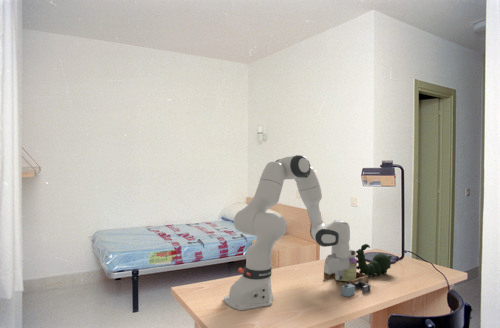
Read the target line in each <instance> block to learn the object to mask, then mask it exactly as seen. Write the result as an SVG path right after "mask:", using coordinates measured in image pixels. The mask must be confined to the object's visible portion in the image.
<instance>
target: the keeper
mask: <svg viewBox="0 0 500 328" xmlns="http://www.w3.org/2000/svg"><path fill="white" fill-rule="evenodd" d="M354 286H355V291H356V290H359V289H361V292H362V294H367V293H368V292H371V284H369V283H368V284H366V283H364V282H361V281H359V282H356V283H354Z"/></svg>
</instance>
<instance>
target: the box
mask: <svg viewBox="0 0 500 328" xmlns="http://www.w3.org/2000/svg"><path fill="white" fill-rule="evenodd" d="M357 260H358V258H356V256H355V259H350V260H349V262H350V266H349V269H348V270H345V272H344V275H343V279H341V280H339V281H340V282H348V283H349V281H350V280H353V279H356V272H357V269H356V267H357V266H358V265H357V264H358V263H357ZM334 278H335V279H334V280H335V281H338V280H337V279H336V275H335V277H334Z"/></svg>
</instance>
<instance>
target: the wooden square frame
mask: <svg viewBox="0 0 500 328" xmlns="http://www.w3.org/2000/svg"><path fill="white" fill-rule="evenodd" d="M332 278H335V273H333V274H327V273H325V272H324V271H323V280H328V279H332ZM359 281H361V282H364V283H366V284H369V275H368V276H367V275H365V274H364V273H363V274H362V273H359V272H358V271H356V279H353V280H350V281H349V282H348V284H352V285H354V283H356V282H359Z"/></svg>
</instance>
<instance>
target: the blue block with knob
mask: <svg viewBox="0 0 500 328" xmlns="http://www.w3.org/2000/svg"><path fill="white" fill-rule="evenodd" d="M340 295H341V296H342V297H345V298H348V297H350V296H351V297H352V296H353V295H354V296H355V295H356V290H355V286H354V285H352V284H349V283H344V285H341V294H340Z"/></svg>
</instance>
